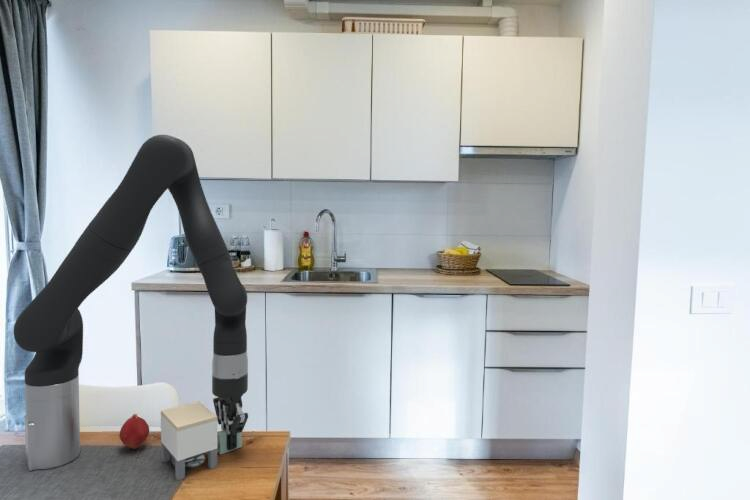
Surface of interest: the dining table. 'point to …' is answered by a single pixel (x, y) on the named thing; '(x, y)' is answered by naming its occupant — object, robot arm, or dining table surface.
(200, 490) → the dining table surface
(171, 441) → the cabinet
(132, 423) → the onion
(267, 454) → the dining table surface
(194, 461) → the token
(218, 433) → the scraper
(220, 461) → the dining table surface
